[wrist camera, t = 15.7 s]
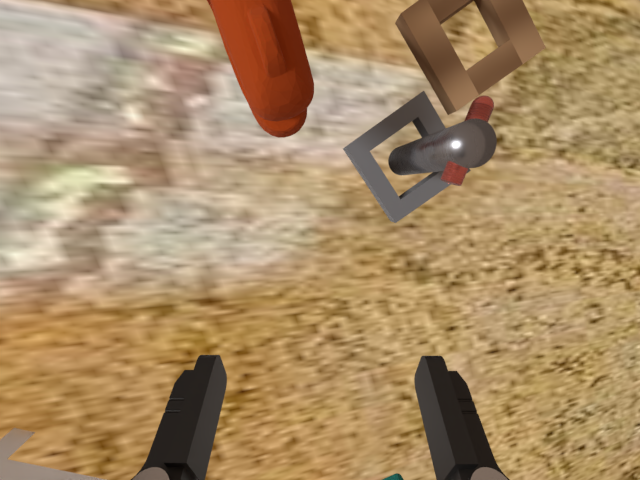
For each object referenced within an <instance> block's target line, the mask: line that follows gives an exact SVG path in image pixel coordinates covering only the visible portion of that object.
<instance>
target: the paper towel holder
mask: <svg viewBox="0 0 640 480" xmlns="http://www.w3.org/2000/svg"><path fill="white" fill-rule="evenodd" d="M34 433H35V432H31V431H27V430H22V429H18V428H13V429H12V430H11V431H10V432H9V433H8V434H6V435H5V436H4V437H3V438H2V439H1V440H0V480H106V479H101V478H96V477H91V476H86V475H81V474H77V473H72V472H67V471H62V470H57V469H52V468H47V467H43V466H38V465H33V464H28V463H23V462H18V461H13V460H8V458H9V457H10V456H11V455H12V454H13V453H14V452H15V451H16V450H17V449H18V448H19V447H21V446H22V445H23V444H24V443H25V442H26V441H27V440H28V439H29V438H30V437H31V436H32V435H33V434H34Z"/></svg>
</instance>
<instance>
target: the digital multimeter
mask: <svg viewBox="0 0 640 480" xmlns="http://www.w3.org/2000/svg"><path fill="white" fill-rule="evenodd" d="M382 480H404V479H403V478H402V476H401V475H400V474H398V473H396V474H393V475H391V476H389V477H387V478H385V479H382Z"/></svg>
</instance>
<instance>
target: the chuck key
mask: <svg viewBox="0 0 640 480" xmlns="http://www.w3.org/2000/svg"><path fill="white" fill-rule="evenodd" d="M493 108H494V102H493V100H492V98H490V97H489V96H485V95H484V96H479V97H477V98H476V99H475V100H474V101H473V102H472V104H471V106H470V108H469V111H468V113H467V115H466V118H465V120H464V121H463V122H461V123H458V124H456V125H453V126H451V127H448V128H446V129H443V130H440V131H438V132H435V133H433V134H430V135H428V136H425V137H423V138H420V139H417V140H415V141H412V142H410V143H407V144H405V145H402V146H400V147H397V148H395V149H394V150H393V151H392V152H391V153H390V155H389V159H388V164H389V167H390V169H391V171H392V172H393V173H395V174H397V175H411V174H421V173H430V172H439V171H444V172H443V174H442V176H441V180H442V181H444V182H446V183H449V184H452V185H456V186H461V185H462V183H463V180H464V178H465V175H466V173H467V171H468V168H476V167H480V166H482V165H484V164H485V163H487V162H488V161H489V160H490V159H491V157H492V156H493V154H494V152H495V149H496V145H497V138H496V133H495V131H494V129H493V127H492V126H491V125H490V124H489V123H488V121H489V118H490V116H491V114H492V111H493Z"/></svg>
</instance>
